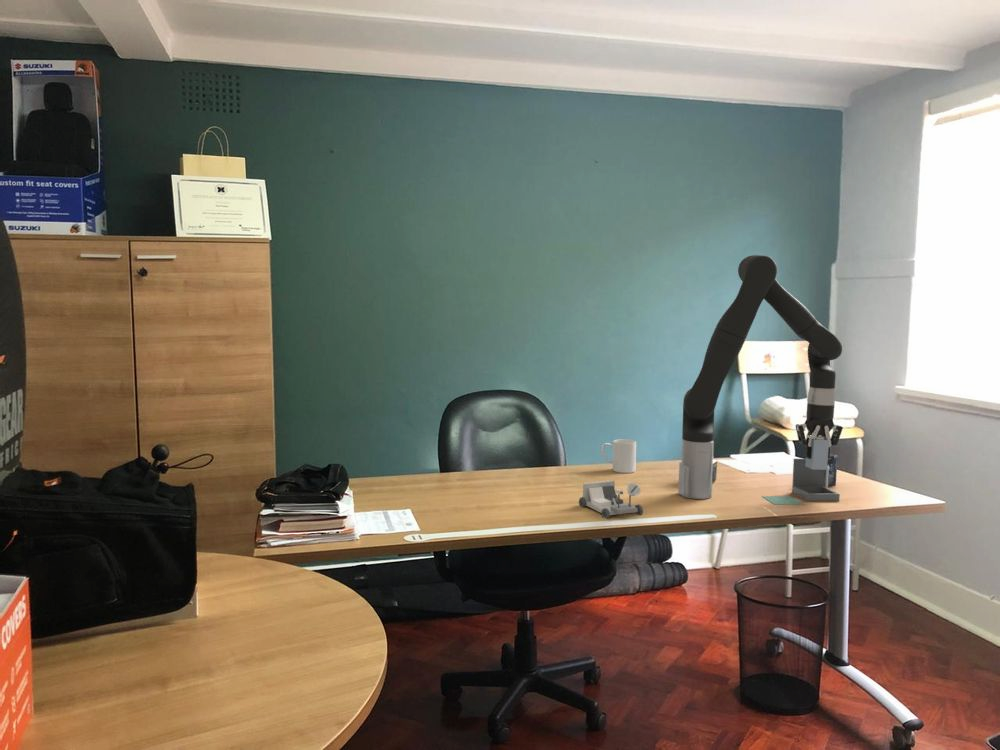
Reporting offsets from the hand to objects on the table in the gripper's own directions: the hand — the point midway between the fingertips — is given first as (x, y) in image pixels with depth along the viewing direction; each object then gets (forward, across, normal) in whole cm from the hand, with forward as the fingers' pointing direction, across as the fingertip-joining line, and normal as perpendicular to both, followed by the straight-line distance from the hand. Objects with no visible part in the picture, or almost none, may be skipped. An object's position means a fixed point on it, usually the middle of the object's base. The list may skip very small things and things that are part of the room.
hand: (816, 458), depth 224 cm
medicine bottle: (+13, -27, +21) cm, 37 cm away
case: (+12, 0, 0) cm, 12 cm away
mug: (+14, -52, +37) cm, 65 cm away
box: (+12, +10, +15) cm, 21 cm away
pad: (+13, -12, -4) cm, 18 cm away
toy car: (+14, -65, -14) cm, 68 cm away
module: (+3, 0, 0) cm, 3 cm away
